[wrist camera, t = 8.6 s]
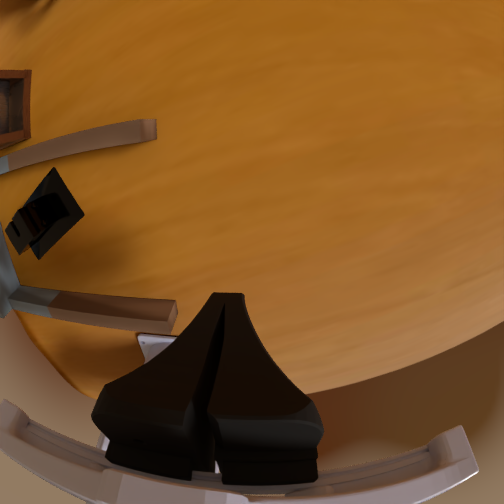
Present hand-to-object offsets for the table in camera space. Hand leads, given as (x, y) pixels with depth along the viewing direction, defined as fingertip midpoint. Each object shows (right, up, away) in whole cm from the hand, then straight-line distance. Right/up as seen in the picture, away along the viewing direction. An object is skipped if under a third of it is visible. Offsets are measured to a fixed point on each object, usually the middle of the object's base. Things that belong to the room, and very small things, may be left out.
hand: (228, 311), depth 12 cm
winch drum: (-22, +17, +3) cm, 28 cm away
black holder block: (-19, +6, +9) cm, 22 cm away
